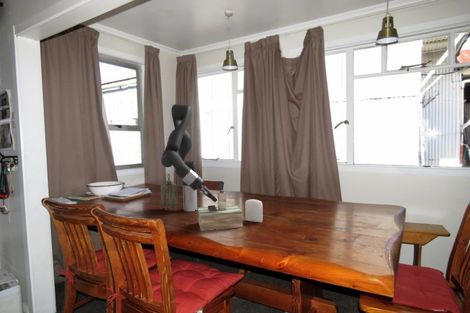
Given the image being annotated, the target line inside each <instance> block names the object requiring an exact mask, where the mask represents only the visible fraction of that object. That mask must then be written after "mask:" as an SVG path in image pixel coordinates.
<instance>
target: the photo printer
mask: <svg viewBox="0 0 470 313" xmlns="http://www.w3.org/2000/svg"><path fill="white" fill-rule="evenodd" d="M244 204H245V206H244V211H245V216H244V218H245V221H247V222H248V221H249V222H253V223H262V222H263V220H264V219H263V218H264V217H263V202H262V201H261V200H258V199H247V200H245V203H244Z"/></svg>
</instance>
